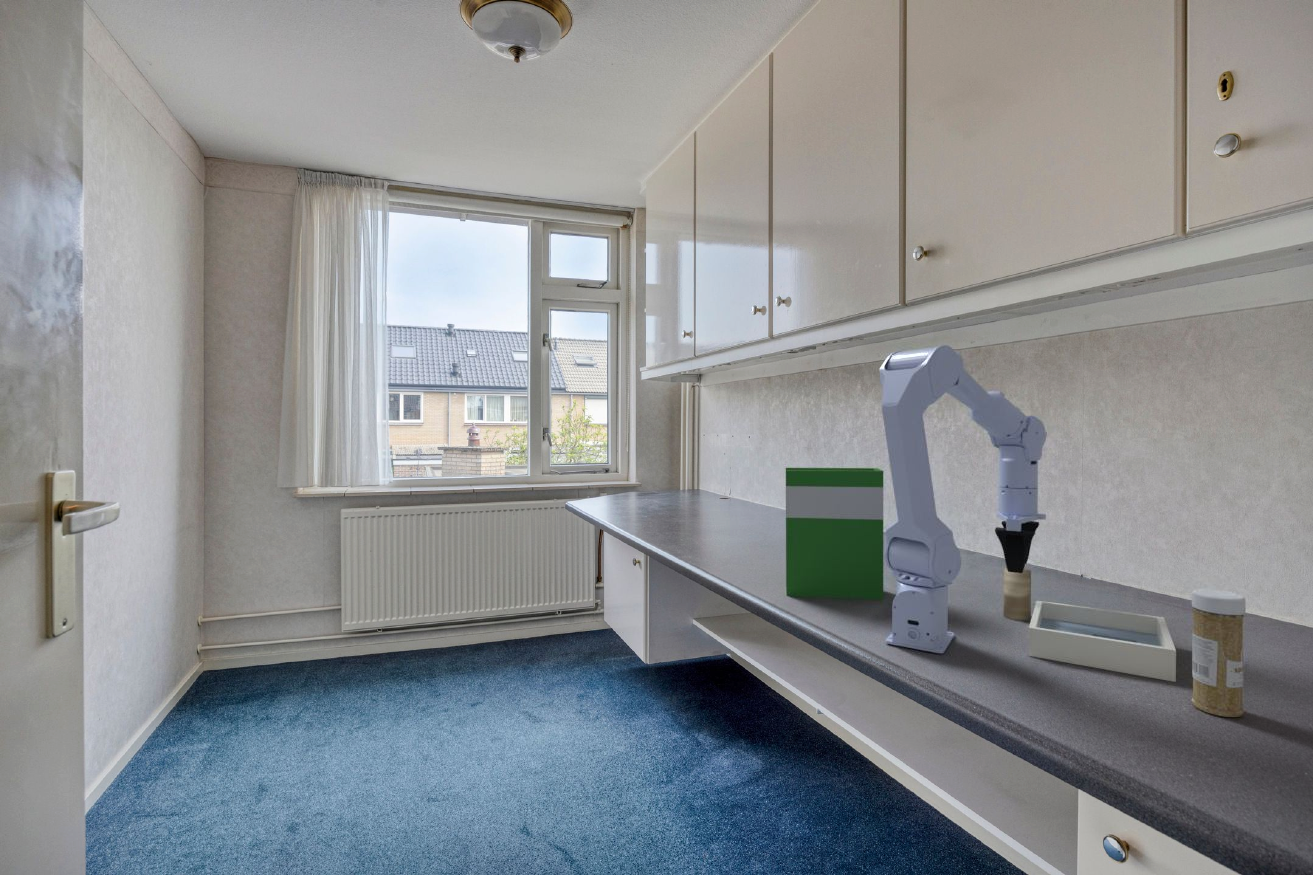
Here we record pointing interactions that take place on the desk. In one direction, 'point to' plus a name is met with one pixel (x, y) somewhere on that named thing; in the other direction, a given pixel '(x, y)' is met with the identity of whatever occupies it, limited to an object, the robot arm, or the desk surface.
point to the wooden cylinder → (1017, 595)
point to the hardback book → (834, 532)
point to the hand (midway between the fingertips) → (1017, 567)
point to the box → (1103, 639)
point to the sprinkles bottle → (1218, 652)
